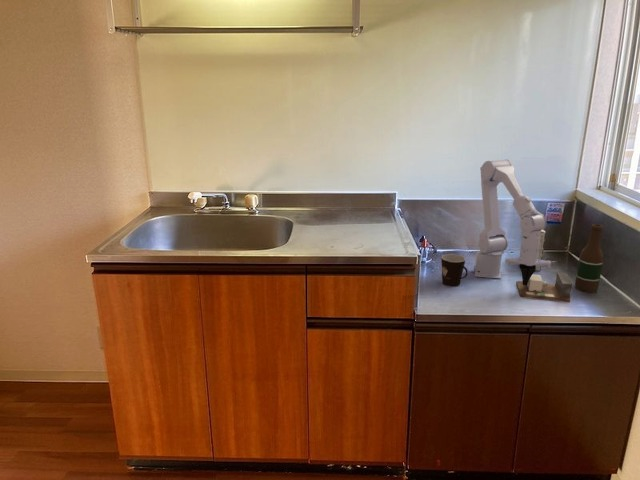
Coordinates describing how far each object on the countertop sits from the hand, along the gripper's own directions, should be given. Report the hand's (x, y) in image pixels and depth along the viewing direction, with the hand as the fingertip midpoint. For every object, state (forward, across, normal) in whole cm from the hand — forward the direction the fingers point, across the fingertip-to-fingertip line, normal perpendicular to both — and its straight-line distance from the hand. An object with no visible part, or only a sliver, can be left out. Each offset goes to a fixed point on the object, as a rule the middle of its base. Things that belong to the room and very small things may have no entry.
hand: (524, 284), depth 174 cm
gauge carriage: (+1, +4, 0) cm, 5 cm away
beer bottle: (+3, +22, +9) cm, 24 cm away
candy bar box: (+3, +6, +28) cm, 29 cm away
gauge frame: (+3, +6, +1) cm, 7 cm away
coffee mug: (+3, -25, 0) cm, 25 cm away
